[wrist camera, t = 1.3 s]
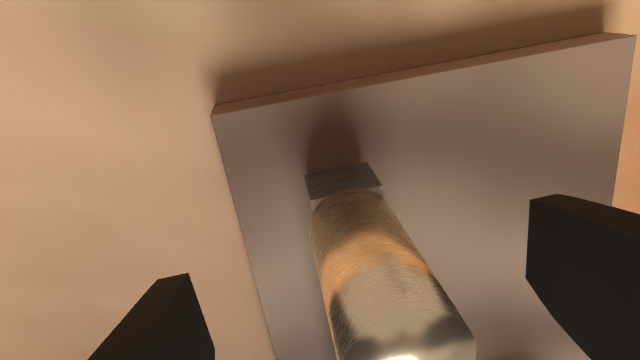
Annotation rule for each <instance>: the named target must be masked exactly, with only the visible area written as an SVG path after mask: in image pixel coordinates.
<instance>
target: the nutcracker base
mask: <svg viewBox="0 0 640 360" xmlns="http://www.w3.org/2000/svg"><path fill="white" fill-rule="evenodd" d="M636 36H637V35H627V34H617V33H607V32H603V33H598V34H593V35H587V36H582V37H577V38H571V39H566V40H561V41H555V42H550V43H545V44H539V45H534V46H529V47H523V48H518V49H513V50H507V51H502V52H497V53H491V54H486V55H481V56H475V57H470V58H465V59H459V60H454V61H449V62H443V63H438V64H433V65H427V66H422V67H417V68H411V69H406V70H401V71H395V72H390V73H385V74H379V75H374V76H369V77H363V78H358V79H353V80H347V81H342V82H337V83H331V84H326V85H321V86H315V87H310V88H305V89H299V90H294V91H289V92H283V93H278V94H273V95H267V96H262V97H257V98H251V99H246V100H241V101H235V102H230V103H225V104H219V105H214V107H213V110H212V113H211V115H210V117H211V121H212V124H213V128H214V132H215V135H216V139H217V143H218V146H219V150H220V154H221V158H222V161H223V165H224V169H225V172H226V176H227V180H228V183H229V187H230V191H231V194H232V198H233V202H234V205H235V209H236V213H237V216H238V220H239V224H240V228H241V231H242V235H243V239H244V242H245V246H246V250H247V253H248V257H249V261H250V264H251V268H252V272H253V275H254V279H255V283H256V286H257V290H258V294H259V298H260V301H261V305H262V309H263V312H264V316H265V320H266V323H267V327H268V331H269V334H270V338H271V342H272V345H273V349H274V353H275V356H276V360H337V357H336V352H335V348H334V343H333V339H332V335H331V330H330V326H329V322H328V317H327V313H326V308H325V304H324V300H323V295H322V291H321V286H320V282H319V278H318V273H317V269H316V264H315V260H314V256H313V251H312V247H311V242H310V238H309V224H310V220H311V212H310V206H309V201H308V196H307V190H306V185H305V180H304V175H307V174H312V173H317V172H322V171H327V170H332V169H337V168H342V167H347V166H352V165H357V164H362V163H368V165H369V166H370V168H371V169H372V170H373V172H374V173H375V175H376V176H377V178H378V179H379V181H380V182H381V184H382V185H383V192H384V199H385V200H386V201H387V203H388V204H389V205H390V207H391V209H392V210H393V212H394V213H395V215H396V216H397V218H398V219H399V221H400V222H401V224H402V225H403V227H404V229H405V230H406V232H407V233H408V235H409V236H410V238H411V239H412V241H413V242H414V244H415V246H416V247H417V249H418V250H419V252H420V253H421V255H422V256H423V258H424V259H425V261H426V263H427V264H428V266H429V267H430V269H431V270H432V272H433V273H434V275H435V276H436V278H437V280H438V281H439V283H440V284H441V286H442V287H443V289H444V290H445V292H446V293H447V295H448V297H449V298H450V300H451V301H452V303H453V304H454V306H455V307H456V309H457V310H458V312H459V314H460V315H461V317H462V318H463V320H464V321H465V323H466V324H467V326H468V327H469V329H470V330H471V332H472V334H473V336H474V339H475V342H476V350H477V351H476V359H475V360H589V357H588V356H587V355H586V354H585V353H584V352H583V351H582V349H581V348H580V347H579V346H578V345H577V344H576V343H575V342H574V341H573V339H572V338H571V337H570V336H569V335H568V334H567V333H566V332H565V331H564V330H563V328H562V327H561V326H560V325H559V324H558V323H557V322H556V320H555V319H554V318H553V317H552V316H551V314H550V313H549V311H548V310H547V309H546V307H545V306H544V305H543V303H542V302H541V300H540V299H539V297H538V296H537V295H536V293H535V292H534V290H533V289H532V287H531V286H530V284H529V283H528V281H527V280H526V278H525V275H526V257H527V240H528V222H529V204H530V199H534V198H539V197H544V196H548V195H553V194H562V195H567V196H572V197H577V198H581V199H585V200H589V201H593V202H597V203H600V204H604V205H608V206H612V200H613V193H614V186H615V179H616V172H617V166H618V159H619V152H620V145H621V138H622V132H623V125H624V118H625V111H626V104H627V98H628V91H629V84H630V77H631V70H632V64H633V57H634V50H635V43H636Z"/></svg>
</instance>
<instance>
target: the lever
mask: <svg viewBox="0 0 640 360" xmlns="http://www.w3.org/2000/svg"><path fill="white" fill-rule="evenodd" d="M304 180H305V185H306V190H307V196H308V201H309V206H310V212H311V220H310V224H309V238H310V242H311V247H312V251H313V256H314V260H315V264H316V269H317V273H318V278H319V282H320V286H321V291H322V295H323V300H324V304H325V308H326V313H327V317H328V322H329V326H330V330H331V335H332V339H333V343H334V348H335V352H336V357H337V360H475V359H476V351H477V350H476V342H475V339H474V336H473V334H472V332H471V330H470V329H469V327H468V326H467V324H466V323H465V321H464V320H463V318H462V317H461V315H460V314H459V312H458V310H457V309H456V307H455V306H454V304H453V303H452V301H451V300H450V298H449V297H448V295H447V293H446V292H445V290H444V289H443V287H442V286H441V284H440V283H439V281H438V280H437V278H436V276H435V275H434V273H433V272H432V270H431V269H430V267H429V266H428V264H427V263H426V261H425V259H424V258H423V256H422V255H421V253H420V252H419V250H418V249H417V247H416V246H415V244H414V242H413V241H412V239H411V238H410V236H409V235H408V233H407V232H406V230H405V229H404V227H403V225H402V224H401V222H400V221H399V219H398V218H397V216H396V215H395V213H394V212H393V210H392V209H391V207H390V205H389V204H388V203H387V201H386V200H385V199H384V192H383V185H382V184H381V182H380V181H379V179H378V178H377V176H376V175H375V173H374V172H373V170H372V169H371V168H370V166H369V165H368V163H362V164H357V165H352V166H347V167H342V168H337V169H332V170H327V171H322V172H317V173H312V174H307V175H304Z"/></svg>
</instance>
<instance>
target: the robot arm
mask: <svg viewBox="0 0 640 360" xmlns="http://www.w3.org/2000/svg"><path fill="white" fill-rule="evenodd" d="M525 278H526V280H527V281H528V283H529V284H530V286H531V287H532V289H533V290H534V292H535V293H536V295H537V296H538V297H539V299H540V300H541V302H542V303H543V305H544V306H545V307H546V309H547V310H548V311H549V313H550V314H551V316H552V317H553V318H554V319H555V320H556V322H557V323H558V324H559V325H560V326H561V327H562V328H563V330H564V331H565V332H566V333H567V334H568V335H569V336H570V337H571V338H572V339H573V341H574V342H575V343H576V344H577V345H578V346H579V347H580V348H581V349H582V351H583V352H584V353H585V354H586V355H587V356H588V357H589V358H590V359H591V360H640V214H636V213H633V212H629V211H626V210H622V209H619V208H615V207H611V206H608V205H604V204H600V203H597V202H593V201H589V200H585V199H581V198H577V197H572V196H567V195H562V194H553V195H548V196H544V197H539V198H534V199H530V204H529V222H528V240H527V257H526V275H525ZM88 360H215V348H214V345H213V342H212V339H211V336H210V334H209V331H208V328H207V325H206V322H205V319H204V316H203V314H202V311H201V308H200V305H199V302H198V299H197V296H196V293H195V291H194V288H193V285H192V282H191V279H190V276H189V273H186V274H181V275H176V276H172V277H167V278H162V279H158V280H157V281H156V282H155V283H154V284H153V285H152V286H151V287H150V288H149V289H148V290H147V292H146V293H145V294H144V295H143V296H142V297H141V298H140V300H139V301H138V302H137V303H136V304H135V305H134V307H133V308H132V309H131V310H130V311H129V313H128V314H127V315H126V316H125V317H124V318H123V320H122V321H121V322H120V323H119V324H118V325H117V327H116V328H115V329H114V330H113V331H112V332H111V333H110V335H109V336H108V337H107V338H106V339H105V340H104V341H103V343H102V344H101V345H100V346H99V347H98V348H97V349H96V351H95V352H94V353H93V354H92V355H91V356H90V357H89V359H88Z"/></svg>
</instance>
